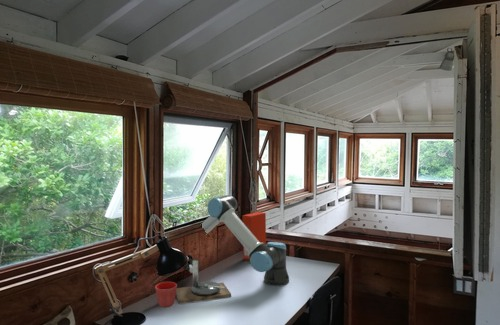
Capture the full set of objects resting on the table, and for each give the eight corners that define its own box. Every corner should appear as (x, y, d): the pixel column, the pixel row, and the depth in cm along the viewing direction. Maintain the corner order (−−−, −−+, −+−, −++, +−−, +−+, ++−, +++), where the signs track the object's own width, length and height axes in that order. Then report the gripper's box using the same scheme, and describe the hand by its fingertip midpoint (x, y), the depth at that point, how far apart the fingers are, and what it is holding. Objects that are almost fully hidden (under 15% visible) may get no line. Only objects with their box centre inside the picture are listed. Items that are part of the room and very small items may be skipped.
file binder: (242, 259, 265) (242, 215, 264) (257, 253, 279) (257, 212, 277) (251, 261, 260) (251, 216, 259) (266, 255, 273) (265, 213, 272)
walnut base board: (223, 285, 215) (223, 282, 215) (231, 296, 198) (231, 293, 198) (174, 291, 206) (174, 288, 206) (178, 303, 189) (178, 300, 189)
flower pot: (172, 309, 183) (171, 289, 183) (151, 307, 185) (151, 288, 185) (180, 300, 193) (180, 282, 193) (161, 299, 195) (160, 281, 195)
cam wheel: (228, 286, 208) (227, 258, 208) (220, 297, 193) (219, 267, 192) (197, 283, 212) (196, 256, 211) (186, 294, 196) (186, 265, 196)
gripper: (196, 263, 236) (203, 275, 213) (175, 265, 232) (180, 278, 209) (196, 252, 236) (202, 262, 213) (175, 253, 232) (180, 265, 209)
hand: (191, 270), depth 211 cm, fingers closed
